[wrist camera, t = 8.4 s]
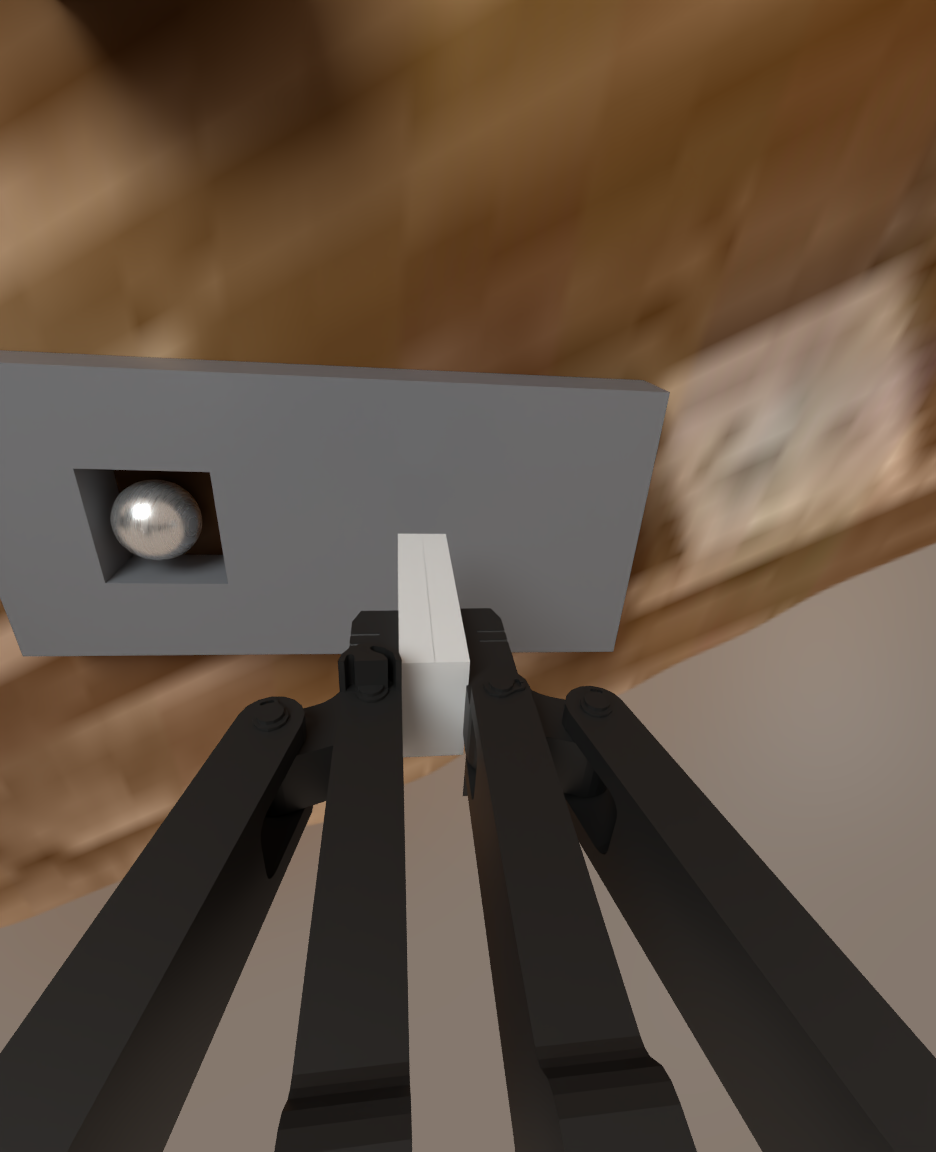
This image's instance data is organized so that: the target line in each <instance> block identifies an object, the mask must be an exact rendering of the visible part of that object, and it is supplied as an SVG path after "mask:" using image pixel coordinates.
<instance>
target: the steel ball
mask: <svg viewBox="0 0 936 1152" xmlns="http://www.w3.org/2000/svg"><path fill="white" fill-rule="evenodd" d="M110 520H111V527H112V530H113V532H114V534H115V537H116V538H117V540H118V541H119V542H120V543H121V545H122V546H124V547H125V548H126V549H127V550H128V551H130V552H131V553H133V554H135V555H137V556H140V557H142V558H146V559H151V560H166V559H171V558H175V557H177V556H180V555H182V554H183V553H185V552H186V551H188V550H189V549H190V548H191V547H192V546H193V545H194V544H195V542H196V541H197V539H198V538H199V535H200V533H201V529H202V514H201V511H200V508H199V506H198V504H197V502H196V500H195V499H194V498H193V496H192V495H191V494H190V493H189V492H188V491H186V490H185V489H184V488H182V487H181V486H179V485H177V484H174V483H172V482H169V481H165V480H155V479H151V480H143V481H140V482H137V483H134V484H132V485H130V486H128V487H127V488H126V489H124V490H123V491H122V492H121V493H120V494H119V495H118V497H117V498H116V500H115V501H114V503H113V506H112V509H111V516H110Z"/></svg>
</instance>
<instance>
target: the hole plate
mask: <svg viewBox="0 0 936 1152" xmlns="http://www.w3.org/2000/svg"><path fill="white" fill-rule="evenodd" d="M669 394H670V392H668V391H666V390H663V389H661V388H659V387H657V386H655V385H653V384H650V383H648V382H646V381H644V380H625V379H604V378H582V377H561V376H539V375H517V374H496V373H474V372H453V371H431V370H410V369H388V368H367V367H345V366H324V365H302V364H281V363H259V362H238V361H216V360H195V359H173V358H152V357H130V356H109V355H87V354H66V353H44V352H23V351H1V350H0V598H1V601H2V603H3V606H4V609H5V611H6V614H7V616H8V619H9V622H10V624H11V627H12V629H13V632H14V634H15V637H16V640H17V642H18V645H19V647H20V650H21V653H22V655H23V656H123V655H249V654H342V653H343V652H345V651H346V650H347V649H348V648H349V646H350V636H351V627H352V621H353V620H354V619H355V618H356V616H357V615H358V614H359V613H360V612H361V611H390V610H398V534H446V538H447V543H448V548H449V554H450V559H451V564H452V569H453V575H454V580H455V585H456V590H457V596H458V601H459V606H460V608H491V609H492V610H493V611H494V612H495V613H496V614H497V615H498V616H499V617H500V618H501V620H502V623H503V627H504V632H505V633H506V637H507V642H508V643H509V647H510V650H511V652H613V650H614V646H615V641H616V637H617V632H618V627H619V623H620V618H621V614H622V609H623V605H624V600H625V595H626V591H627V586H628V582H629V577H630V572H631V568H632V563H633V559H634V554H635V550H636V545H637V540H638V536H639V531H640V527H641V522H642V517H643V513H644V508H645V504H646V499H647V495H648V490H649V485H650V481H651V476H652V472H653V467H654V462H655V458H656V453H657V449H658V444H659V440H660V435H661V430H662V426H663V421H664V417H665V412H666V408H667V403H668V398H669ZM113 470H147V471H185V472H210V476H211V482H212V489H213V495H214V501H215V507H216V513H217V519H218V525H219V531H220V537H221V544H222V550H223V555H190V554H182V555H180V556H177V557H175V558H171V559H166V560H151V559H146V558H142V557H140V556H137V555H135V554H133V553H131V552H130V551H128V550H127V549H126V548H125V547H124V546H122V545H121V543H120V542H119V541H118V540H117V538H116V537H115V534H114V532H113V530H112V527H111V520H110V516H111V509H112V506H113V503H114V501H115V500H116V498H117V497H118V495H119V491H118V487H117V483H116V479H115V475H114V471H113Z"/></svg>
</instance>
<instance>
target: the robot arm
mask: <svg viewBox="0 0 936 1152" xmlns="http://www.w3.org/2000/svg"><path fill="white" fill-rule="evenodd" d="M338 670H339V686H340V692H339V693H338V694H337V695H335V696H334V697H333V698H331V699H330V700H328V701H326V702H324V703H321V704H318V705H315V706H311V707H307V708H302V705H300V704H299V703H298V702H297V701H295V700H293V699H290V698H287V697H269V698H265V699H261V700H258V701H256V702H254V703H252V704H250V705H248V706H247V707H246V708H245V709H244V710H243V711H242V712H241V713H240V714H239V715H238V716H237V718H236V719H235V721H234V722H233V723H232V725H231V726H230V728H229V729H228V731H227V732H226V733H225V735H224V736H223V738H222V739H221V741H220V742H219V743H218V745H217V746H216V748H215V749H214V750H213V752H212V753H211V755H210V756H209V758H208V759H207V760H206V762H205V763H204V765H203V766H202V768H201V769H200V770H199V772H198V773H197V775H196V776H195V777H194V779H193V780H192V782H191V783H190V785H189V786H188V787H187V789H186V790H185V792H184V793H183V795H182V796H181V797H180V799H179V800H178V802H177V803H176V804H175V806H174V807H173V809H172V810H171V812H170V813H169V814H168V816H167V817H166V819H165V820H164V822H163V823H162V824H161V826H160V827H159V829H158V830H157V832H156V833H155V834H154V836H153V837H152V839H151V840H150V841H149V843H148V844H147V846H146V847H145V849H144V850H143V851H142V853H141V854H140V856H139V857H138V859H137V860H136V861H135V863H134V864H133V866H132V867H131V868H130V870H129V871H128V873H127V874H126V876H125V877H124V878H123V880H122V881H121V883H120V884H119V886H118V887H117V889H116V890H115V891H114V893H113V894H112V896H111V897H110V898H109V900H108V901H107V903H106V904H105V905H104V907H103V908H102V910H101V911H100V913H99V914H98V915H97V917H96V918H95V920H94V921H93V923H92V924H91V925H90V927H89V928H88V930H87V931H86V932H85V934H84V935H83V937H82V938H81V940H80V941H79V942H78V944H77V945H76V947H75V948H74V950H73V951H72V952H71V954H70V955H69V957H68V958H67V959H66V961H65V962H64V964H63V965H62V967H61V968H60V969H59V971H58V972H57V974H56V975H55V977H54V978H53V979H52V981H51V982H50V984H49V985H48V987H47V988H46V989H45V991H44V992H43V994H42V995H41V997H40V998H39V1000H38V1001H37V1002H36V1004H35V1005H34V1006H33V1008H32V1009H31V1011H30V1012H29V1013H28V1015H27V1017H26V1018H25V1019H24V1021H23V1022H22V1023H21V1025H20V1026H19V1028H18V1029H17V1031H16V1032H15V1033H14V1035H13V1036H12V1038H11V1039H10V1041H9V1042H8V1043H7V1045H6V1046H5V1048H4V1049H3V1050H2V1052H1V1053H0V1152H163V1150H164V1147H165V1145H166V1143H167V1141H168V1139H169V1136H170V1134H171V1132H172V1129H173V1127H174V1125H175V1122H176V1120H177V1118H178V1116H179V1114H180V1111H181V1109H182V1107H183V1104H184V1102H185V1100H186V1097H187V1095H188V1093H189V1091H190V1088H191V1086H192V1084H193V1081H194V1079H195V1077H196V1075H197V1072H198V1070H199V1068H200V1066H201V1063H202V1061H203V1059H204V1056H205V1054H206V1052H207V1050H208V1047H209V1045H210V1043H211V1041H212V1038H213V1036H214V1034H215V1031H216V1029H217V1027H218V1025H219V1022H220V1020H221V1018H222V1016H223V1013H224V1011H225V1008H226V1006H227V1004H228V1002H229V1000H230V997H231V995H232V993H233V990H234V988H235V986H236V984H237V981H238V979H239V977H240V975H241V972H242V970H243V968H244V965H245V963H246V961H247V959H248V956H249V954H250V951H251V949H252V947H253V945H254V943H255V940H256V938H257V936H258V934H259V931H260V929H261V927H262V924H263V922H264V920H265V918H266V915H267V913H268V911H269V908H270V906H271V904H272V902H273V899H274V897H275V895H276V892H277V890H278V888H279V886H280V883H281V881H282V879H283V877H284V874H285V872H286V870H287V867H288V865H289V863H290V861H291V858H292V856H293V854H294V851H295V849H296V847H297V845H298V842H299V840H300V838H301V836H302V833H303V831H304V829H305V826H306V824H307V822H308V820H309V817H310V815H311V813H312V809H313V805H315V804H318V803H321V802H324V801H326V808H325V816H324V824H323V832H322V840H321V848H320V856H319V864H318V872H317V880H316V889H315V896H314V904H313V912H312V921H311V928H310V936H309V944H308V953H307V961H306V968H305V976H304V984H303V993H302V1001H301V1008H300V1016H299V1025H298V1033H297V1041H296V1049H295V1057H294V1065H293V1073H292V1080H291V1087H290V1092H289V1096H288V1100H287V1102H286V1104H285V1107H284V1109H283V1111H282V1114H281V1119H280V1123H279V1127H278V1132H277V1139H276V1145H275V1151H274V1152H412V1127H411V1094H410V1076H409V1029H408V979H407V933H406V932H407V931H406V884H405V883H406V879H405V834H404V833H405V830H404V781H403V757H421V756H444V755H463V749H464V745H465V752H466V763H465V776H464V789H463V796H468V801H469V808H470V816H471V823H472V830H473V838H474V846H475V853H476V860H477V868H478V875H479V883H480V890H481V897H482V905H483V912H484V920H485V927H486V935H487V942H488V950H489V957H490V965H491V972H492V979H493V986H494V994H495V1002H496V1009H497V1017H498V1024H499V1031H500V1039H501V1046H502V1054H503V1061H504V1069H505V1076H506V1084H507V1091H508V1098H509V1106H510V1113H511V1121H512V1128H513V1135H514V1144H515V1152H697V1151H696V1148H695V1145H694V1142H693V1139H692V1136H691V1133H690V1130H689V1127H688V1124H687V1121H686V1119H685V1116H684V1112H683V1110H682V1107H681V1104H680V1101H679V1099H678V1096H677V1094H676V1092H675V1089H674V1086H673V1084H672V1081H671V1079H670V1078H669V1076H668V1075H667V1073H666V1071H665V1069H664V1068H663V1066H662V1065H661V1064H659V1063H658V1062H657V1061H655V1060H654V1059H653V1058H651V1057H650V1056H649V1054H648V1052H647V1051H646V1049H645V1047H644V1044H643V1042H642V1039H641V1037H640V1033H639V1030H638V1027H637V1024H636V1021H635V1018H634V1015H633V1012H632V1008H631V1005H630V1002H629V999H628V996H627V993H626V989H625V986H624V983H623V980H622V977H621V974H620V970H619V967H618V964H617V961H616V958H615V955H614V951H613V948H612V945H611V942H610V939H609V936H608V932H607V929H606V926H605V923H604V920H603V917H602V914H601V910H600V907H599V904H598V901H597V898H596V895H595V891H594V888H593V885H592V882H591V879H590V876H589V872H588V869H587V866H586V863H585V860H584V857H583V853H582V850H581V847H580V844H581V846H582V848H583V849H584V851H585V853H586V854H587V856H588V858H589V859H590V861H591V863H592V864H593V866H594V868H595V870H596V871H597V873H598V874H599V876H600V878H601V880H602V881H603V883H604V885H605V886H606V888H607V890H608V891H609V893H610V895H611V896H612V898H613V900H614V902H615V903H616V905H617V907H618V908H619V910H620V912H621V913H622V915H623V917H624V918H625V920H626V921H627V924H628V925H629V927H630V929H631V930H632V932H633V934H634V935H635V937H636V939H637V940H638V942H639V944H640V945H641V947H642V949H643V951H644V952H645V954H646V956H647V957H648V959H649V961H650V962H651V964H652V966H653V967H654V969H655V971H656V972H657V974H658V976H659V978H660V979H661V981H662V983H663V984H664V986H665V988H666V989H667V991H668V993H669V994H670V996H671V998H672V999H673V1001H674V1003H675V1005H676V1006H677V1008H678V1010H679V1011H680V1013H681V1014H682V1016H683V1018H684V1020H685V1021H686V1023H687V1025H688V1027H689V1028H690V1030H691V1031H692V1033H693V1035H694V1037H695V1038H696V1040H697V1041H698V1043H699V1045H700V1047H701V1048H702V1050H703V1052H704V1054H705V1055H706V1057H707V1058H708V1060H709V1062H710V1064H711V1065H712V1067H713V1069H714V1070H715V1072H716V1074H717V1075H718V1077H719V1079H720V1081H721V1082H722V1084H723V1086H724V1087H725V1089H726V1091H727V1092H728V1094H729V1096H730V1097H731V1099H732V1101H733V1103H734V1104H735V1106H736V1108H737V1109H738V1111H739V1113H740V1114H741V1116H742V1118H743V1119H744V1121H745V1123H746V1124H747V1126H748V1128H749V1130H750V1131H751V1133H752V1135H753V1136H754V1138H755V1139H756V1141H757V1143H758V1145H759V1146H760V1148H761V1150H762V1151H763V1152H936V1058H935V1057H934V1056H933V1055H932V1053H931V1052H930V1051H929V1050H928V1049H927V1048H926V1047H925V1045H924V1044H923V1043H922V1042H921V1041H920V1040H919V1039H918V1038H917V1036H915V1034H914V1033H913V1032H912V1031H911V1029H910V1028H909V1027H908V1026H907V1025H906V1024H905V1023H904V1021H903V1020H902V1019H901V1018H900V1017H899V1016H898V1015H897V1013H896V1012H895V1011H894V1010H893V1009H892V1008H891V1007H890V1005H889V1004H888V1003H887V1002H886V1001H885V1000H884V999H883V998H882V996H881V995H880V994H879V993H878V992H877V991H876V990H875V988H874V987H873V986H872V985H871V984H870V983H869V982H868V980H867V979H866V978H865V977H864V976H863V975H862V974H861V972H860V971H859V970H858V969H857V968H856V967H855V966H854V964H853V963H852V962H851V961H850V960H849V959H848V958H847V957H846V955H845V954H844V953H843V952H842V951H841V950H840V948H839V947H838V946H837V945H836V944H835V943H834V942H833V941H832V939H831V938H830V937H829V936H828V935H827V934H826V933H825V931H824V930H823V929H822V928H821V927H820V926H819V925H818V923H817V922H816V921H815V920H814V919H813V918H812V917H811V915H810V914H809V913H808V912H807V911H806V910H805V909H804V907H803V906H802V905H801V904H800V903H799V902H798V901H797V899H796V898H795V897H794V896H793V895H792V894H791V893H790V891H789V890H788V889H787V888H786V887H785V886H784V885H783V883H782V882H781V881H780V880H779V879H778V878H777V877H776V875H775V874H774V873H773V872H772V871H771V870H770V869H769V868H768V866H767V865H766V864H765V863H764V862H763V861H762V860H761V858H759V856H758V855H757V854H756V853H755V852H754V850H753V849H752V848H751V847H750V846H749V845H748V844H747V843H746V841H745V840H744V839H743V838H742V837H741V836H740V835H739V833H738V832H737V831H736V830H735V829H734V828H733V826H732V825H731V824H730V823H729V822H728V821H727V820H726V818H725V817H724V816H723V815H722V814H721V813H720V812H719V811H718V809H717V808H716V807H715V806H714V805H713V804H712V803H711V801H710V800H709V799H708V798H707V797H706V796H705V795H704V793H703V792H702V791H701V790H700V789H699V788H698V787H697V785H696V784H695V783H694V782H693V781H692V780H691V779H690V778H689V776H688V775H687V774H686V773H685V772H684V771H683V769H682V768H681V767H680V766H679V765H678V764H677V763H676V762H675V760H674V759H673V758H672V757H671V756H670V755H669V753H668V752H667V751H666V750H665V749H664V748H663V747H662V745H661V744H660V743H659V742H658V741H657V740H656V739H655V738H654V736H653V735H652V734H651V733H650V732H649V731H648V730H647V729H646V727H645V726H644V725H643V724H642V723H641V722H640V721H639V719H638V718H637V717H636V716H635V715H634V714H633V712H632V711H631V710H630V709H629V708H628V707H627V706H626V705H625V703H624V702H623V701H622V700H621V699H620V698H619V697H617V696H616V695H615V694H614V693H612V692H610V691H608V690H605V689H603V688H599V687H594V686H582V687H578V688H576V689H573V690H571V691H570V692H569V693H568V695H567V696H566V700H563V699H558V698H554V697H549V696H545V695H542V694H539V693H537V692H535V691H532V690H531V689H530V686H529V685H528V683H527V681H526V680H525V679H524V678H523V677H521V676H520V675H519V674H518V673H517V670H516V666H515V663H514V660H513V656H512V653H511V650H510V647H509V643H508V642H507V637H506V633H505V632H504V627H503V623H502V620H501V618H500V617H499V616H498V615H497V614H496V613H495V612H494V611H493V610H492V609H491V608H460V606H459V601H458V596H457V590H456V585H455V580H454V575H453V569H452V564H451V559H450V554H449V548H448V543H447V538H446V534H398V610H390V611H361V612H360V613H359V614H358V615H357V616H356V618H355V619H354V620H353V621H352V627H351V636H350V646H349V648H348V649H347V650H346V651H345V652H343V653H342V654H341V656H340V658H339V660H338ZM579 843H580V844H579Z"/></svg>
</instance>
